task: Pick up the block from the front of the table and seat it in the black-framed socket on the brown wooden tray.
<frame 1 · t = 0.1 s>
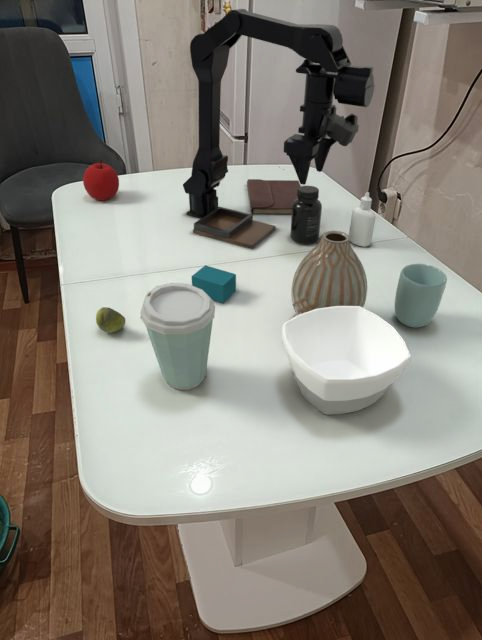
hand: (311, 177, 111), 15 cm above the table, tool pointing down, fingers open, 9 cm apart
apple: (104, 198, 136), on the table
bowl: (336, 387, 81), on the table
cup: (411, 321, 96), on the table
supplement bottle: (304, 239, 121), on the table
eye dropper bottle: (359, 243, 120), on the table
disposable coffee cup: (184, 379, 81), on the table
brown wooden tray: (234, 231, 123), on the table
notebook: (276, 200, 139), on the table
lime: (112, 331, 90), on the table
block: (214, 292, 101), on the table
vase: (324, 324, 94), on the table
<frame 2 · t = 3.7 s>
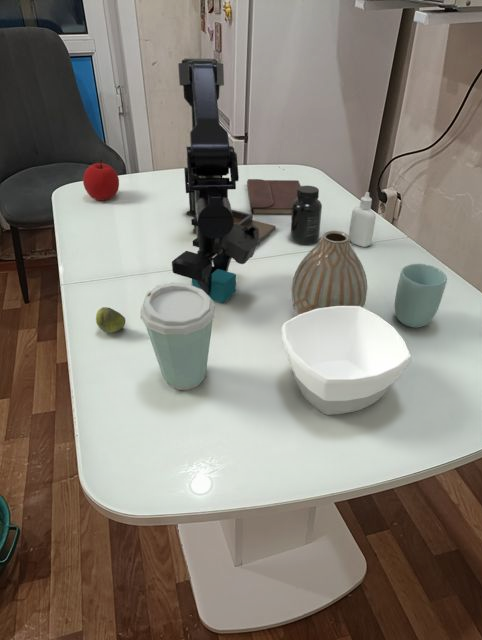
hand: (214, 288, 100), 1 cm above the table, tool pointing down, fingers closed on block, 5 cm apart
block: (214, 292, 101), on the table, touching gripper
everything else where it was.
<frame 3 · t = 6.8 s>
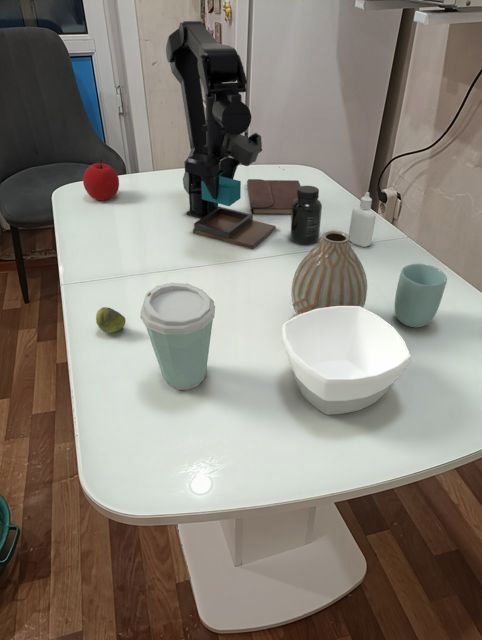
hand: (221, 194, 112), 11 cm above the table, tool pointing down, fingers closed on block, 5 cm apart
block: (221, 198, 113), point 10 cm above the table, touching gripper
everything else where it was.
when the fingers open (2 cm above the table, at t = 10.2 s): block stays where it is, resting on brown wooden tray.
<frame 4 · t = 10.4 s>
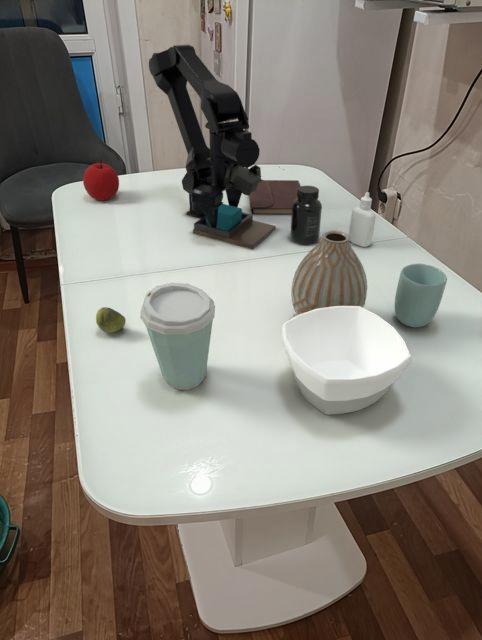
hand: (224, 220, 122), 2 cm above the table, tool pointing down, fingers open, 9 cm apart
block: (224, 224, 123), point 1 cm above the table, touching brown wooden tray
everything else where it was.
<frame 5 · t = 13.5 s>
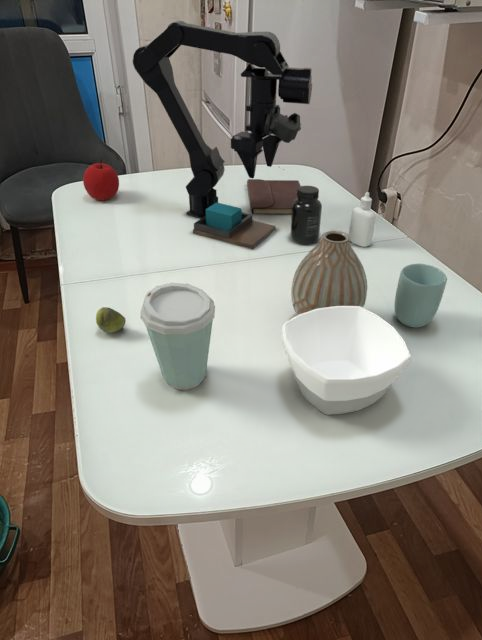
hand: (260, 172, 121), 12 cm above the table, tool pointing down, fingers open, 9 cm apart
nothing on the table moved.
at the end: block 0.0 cm from the target spot on the brown wooden tray, point 1.0 cm above the brown wooden tray's base; block tilted 0°; the gripper is holding nothing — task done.
